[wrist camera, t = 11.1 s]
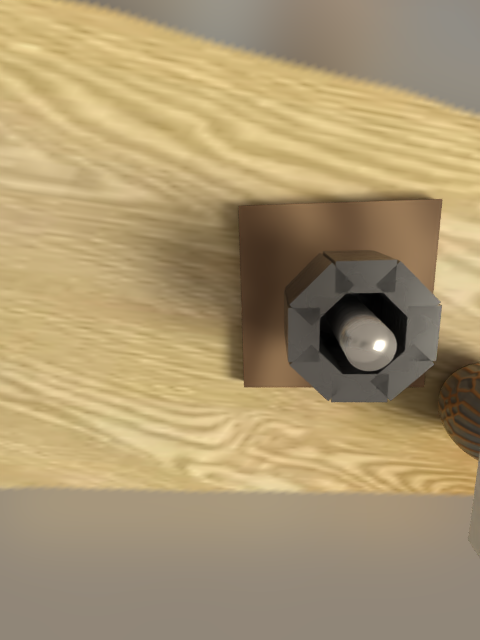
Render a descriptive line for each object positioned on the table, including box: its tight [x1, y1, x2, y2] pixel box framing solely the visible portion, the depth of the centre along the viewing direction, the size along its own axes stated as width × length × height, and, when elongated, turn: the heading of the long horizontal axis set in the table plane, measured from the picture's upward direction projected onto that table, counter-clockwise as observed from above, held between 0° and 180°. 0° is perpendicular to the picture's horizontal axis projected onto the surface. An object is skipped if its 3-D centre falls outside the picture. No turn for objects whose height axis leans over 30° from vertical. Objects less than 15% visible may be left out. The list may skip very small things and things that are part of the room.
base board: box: [239, 199, 442, 387], centre depth 31 cm, size 14×14×1 cm
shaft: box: [320, 293, 397, 371], centre depth 25 cm, size 6×6×10 cm
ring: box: [284, 250, 442, 402], centre depth 24 cm, size 8×8×5 cm
